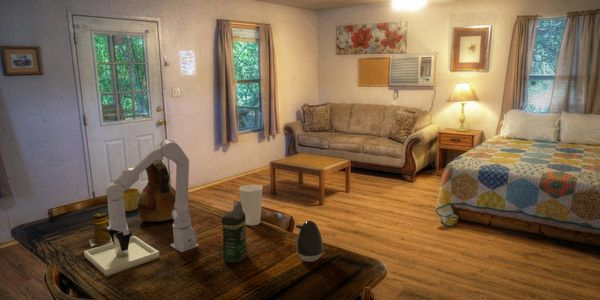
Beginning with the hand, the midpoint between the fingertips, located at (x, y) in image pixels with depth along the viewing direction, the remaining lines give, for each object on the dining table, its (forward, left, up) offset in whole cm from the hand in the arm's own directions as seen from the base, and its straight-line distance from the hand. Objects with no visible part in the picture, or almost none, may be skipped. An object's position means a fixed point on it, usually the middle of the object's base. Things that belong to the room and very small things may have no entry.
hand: (120, 247), depth 161 cm
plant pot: (+53, -26, -4) cm, 59 cm away
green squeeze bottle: (-33, -30, -4) cm, 45 cm away
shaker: (0, 0, -3) cm, 3 cm away
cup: (-9, -57, -4) cm, 58 cm away
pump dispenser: (-54, -49, -4) cm, 73 cm away
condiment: (+22, 0, -4) cm, 22 cm away
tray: (0, 0, -4) cm, 4 cm away
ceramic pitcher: (+27, -30, -4) cm, 41 cm away
